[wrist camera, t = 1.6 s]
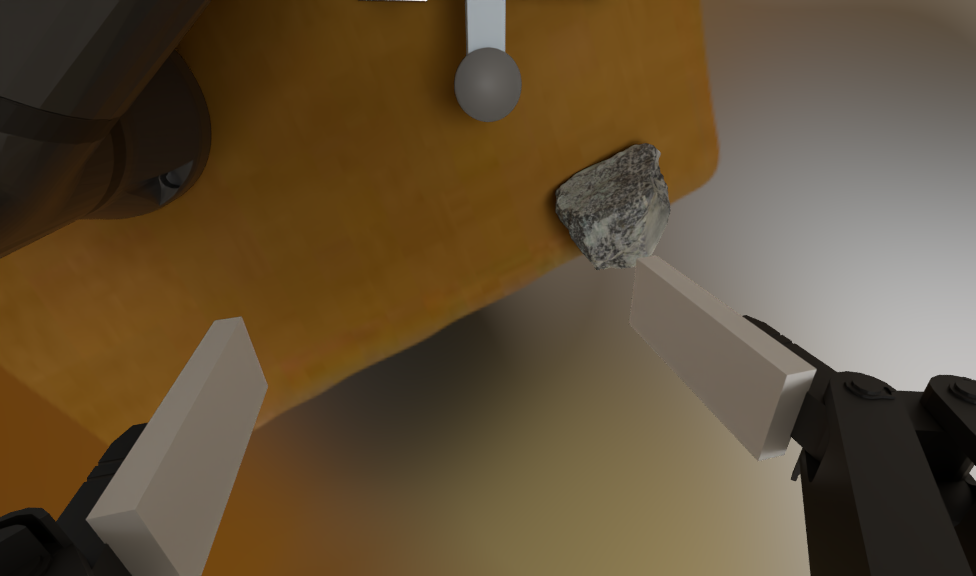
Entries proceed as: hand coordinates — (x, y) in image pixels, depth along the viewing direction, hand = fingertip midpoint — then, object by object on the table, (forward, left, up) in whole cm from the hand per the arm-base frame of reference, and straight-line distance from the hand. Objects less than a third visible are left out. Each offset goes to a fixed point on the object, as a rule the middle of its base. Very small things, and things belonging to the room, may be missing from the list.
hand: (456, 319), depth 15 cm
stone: (+17, -4, -27) cm, 32 cm away
